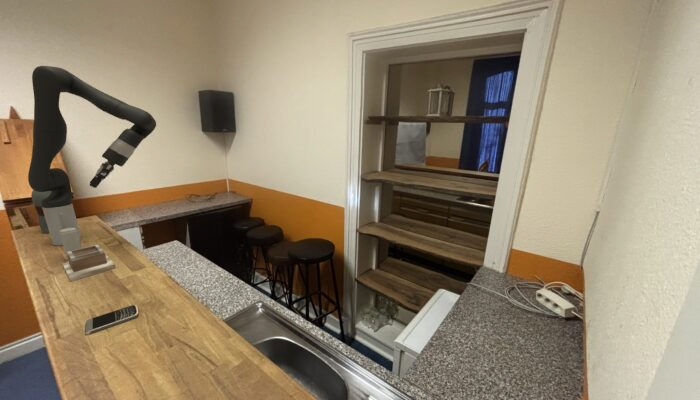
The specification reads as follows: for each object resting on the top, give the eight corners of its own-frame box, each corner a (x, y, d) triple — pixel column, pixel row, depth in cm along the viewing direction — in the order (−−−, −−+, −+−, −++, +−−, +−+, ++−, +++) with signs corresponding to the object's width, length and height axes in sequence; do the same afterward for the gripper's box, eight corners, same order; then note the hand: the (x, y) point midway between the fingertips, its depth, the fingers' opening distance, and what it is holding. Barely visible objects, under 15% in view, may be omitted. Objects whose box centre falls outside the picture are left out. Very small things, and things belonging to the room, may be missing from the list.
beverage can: (75, 260, 108) (67, 231, 105) (63, 260, 108) (55, 231, 105) (87, 255, 112) (80, 227, 110) (75, 255, 113) (68, 227, 110)
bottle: (35, 234, 135) (17, 173, 127) (51, 228, 143) (35, 170, 136) (58, 233, 136) (42, 172, 129) (72, 226, 145) (57, 169, 138)
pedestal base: (63, 267, 103) (58, 250, 101) (105, 255, 112) (101, 240, 110) (70, 281, 93) (65, 263, 91) (115, 267, 102) (111, 251, 101)
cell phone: (139, 318, 76) (138, 313, 75) (84, 337, 69) (83, 333, 68) (137, 307, 80) (136, 303, 80) (85, 325, 73) (84, 320, 73)
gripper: (108, 146, 117) (81, 178, 113) (109, 146, 107) (80, 182, 103) (127, 157, 122) (102, 188, 118) (131, 158, 111) (103, 192, 107)
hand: (92, 185), depth 110 cm, fingers open, 8 cm apart
